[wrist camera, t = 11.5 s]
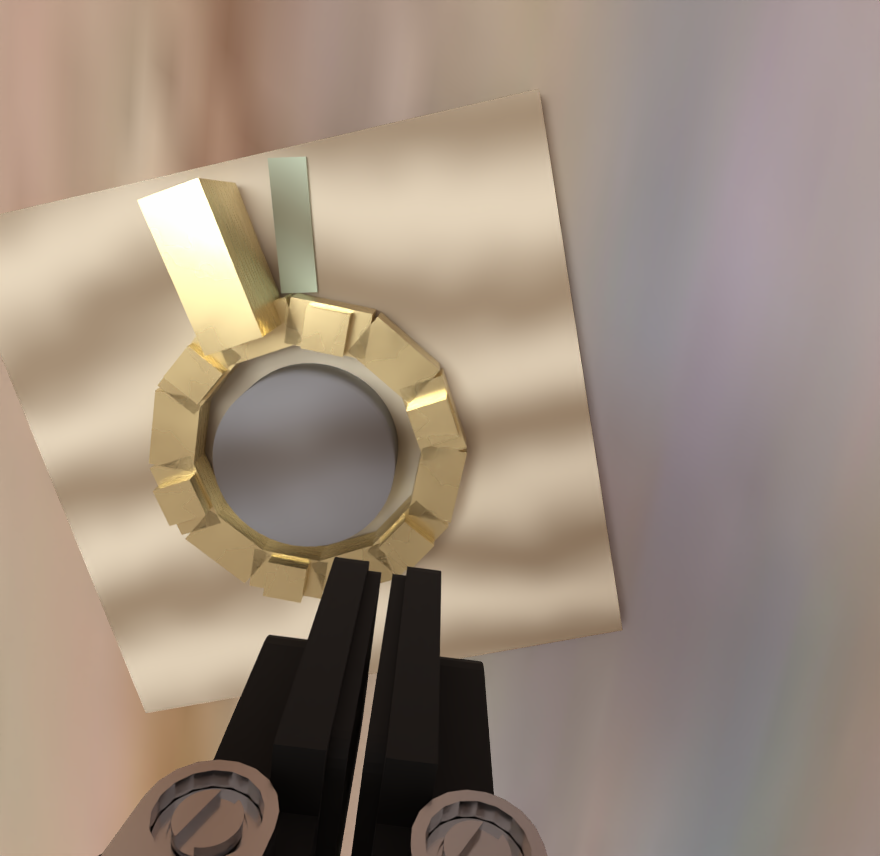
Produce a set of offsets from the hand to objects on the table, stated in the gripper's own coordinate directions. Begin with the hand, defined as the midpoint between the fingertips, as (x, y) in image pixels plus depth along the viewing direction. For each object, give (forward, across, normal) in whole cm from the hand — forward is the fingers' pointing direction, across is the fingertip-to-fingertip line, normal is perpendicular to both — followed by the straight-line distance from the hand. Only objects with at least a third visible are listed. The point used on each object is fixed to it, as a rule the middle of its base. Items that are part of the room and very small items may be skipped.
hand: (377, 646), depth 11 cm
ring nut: (+22, +6, +3) cm, 22 cm away
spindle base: (+23, +5, +5) cm, 24 cm away
